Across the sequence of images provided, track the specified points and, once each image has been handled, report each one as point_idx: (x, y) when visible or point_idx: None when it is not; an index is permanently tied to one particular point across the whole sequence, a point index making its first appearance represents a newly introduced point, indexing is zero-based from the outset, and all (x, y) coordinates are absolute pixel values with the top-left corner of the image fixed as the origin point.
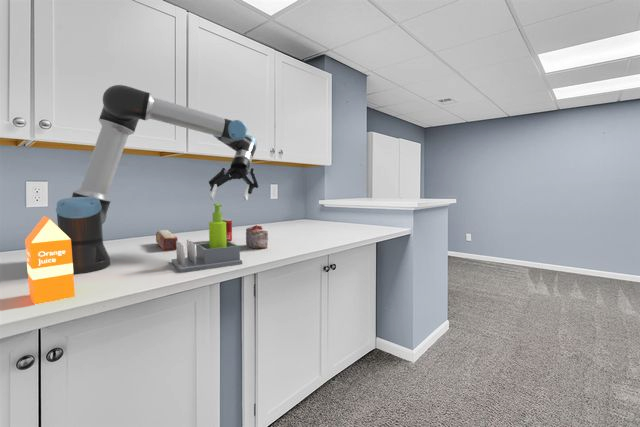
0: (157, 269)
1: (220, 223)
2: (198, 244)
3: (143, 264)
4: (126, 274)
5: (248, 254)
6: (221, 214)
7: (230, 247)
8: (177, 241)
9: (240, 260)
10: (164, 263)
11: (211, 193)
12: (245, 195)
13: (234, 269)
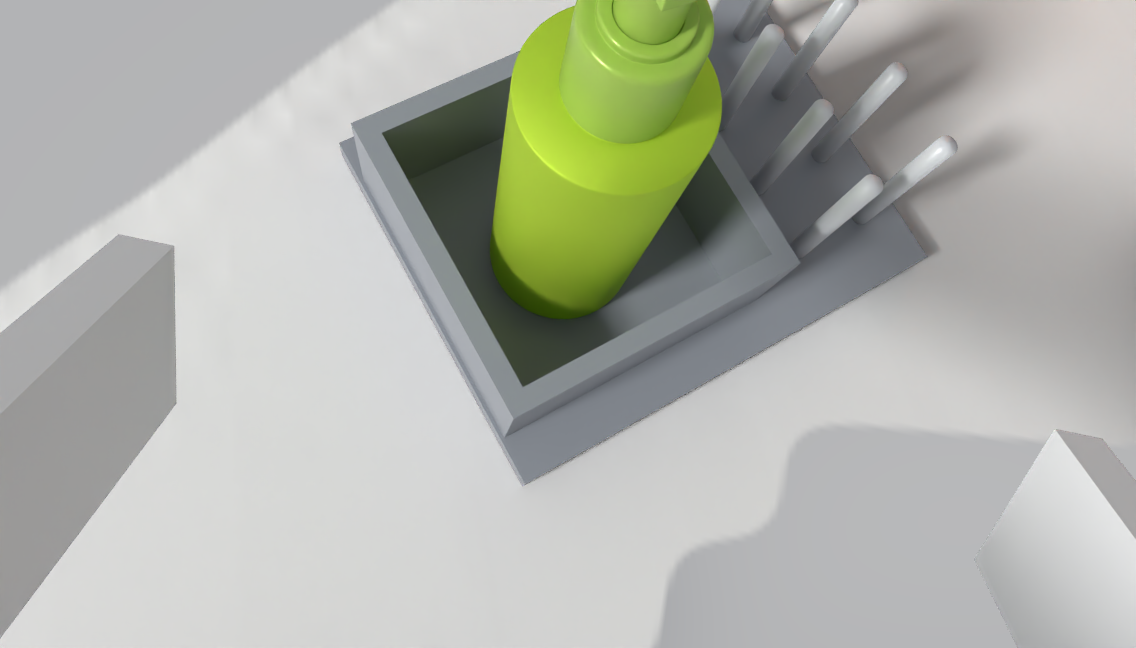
0: (916, 89)
1: (561, 11)
2: (770, 239)
3: (1083, 234)
4: (1036, 3)
5: (319, 531)
6: (577, 5)
7: (434, 90)
8: (940, 138)
9: (355, 154)
10: (953, 247)
11: (1119, 488)
12: (103, 248)
13: (385, 17)
